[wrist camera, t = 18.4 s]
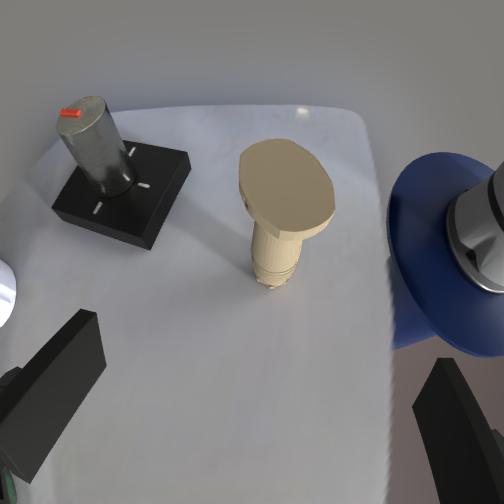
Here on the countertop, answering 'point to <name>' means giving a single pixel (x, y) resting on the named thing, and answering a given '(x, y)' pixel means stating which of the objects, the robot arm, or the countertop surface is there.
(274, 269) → the handle
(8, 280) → the soap bottle
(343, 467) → the countertop surface
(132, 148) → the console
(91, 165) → the dial
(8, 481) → the coffee jar
